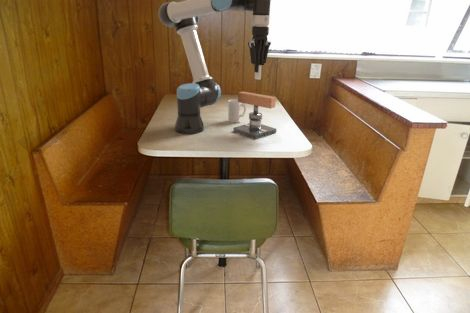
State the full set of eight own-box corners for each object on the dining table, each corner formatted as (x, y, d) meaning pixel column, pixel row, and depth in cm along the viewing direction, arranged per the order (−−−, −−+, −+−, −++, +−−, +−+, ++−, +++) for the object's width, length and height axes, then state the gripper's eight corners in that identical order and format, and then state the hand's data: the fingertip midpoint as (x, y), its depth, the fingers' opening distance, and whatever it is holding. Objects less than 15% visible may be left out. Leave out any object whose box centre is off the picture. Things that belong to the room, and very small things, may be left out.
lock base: (233, 131, 179) (233, 118, 176) (254, 125, 189) (254, 113, 187) (255, 139, 168) (256, 125, 166) (276, 132, 179) (277, 119, 176)
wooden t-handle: (268, 123, 168) (270, 99, 163) (236, 116, 179) (236, 92, 174) (275, 120, 173) (277, 96, 168) (243, 113, 184) (244, 90, 179)
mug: (227, 122, 193) (227, 101, 188) (228, 119, 199) (228, 99, 195) (245, 123, 193) (245, 102, 188) (245, 119, 199) (246, 99, 194)
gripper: (256, 26, 145) (253, 81, 154) (276, 26, 153) (272, 79, 162) (244, 25, 150) (242, 79, 159) (264, 25, 158) (261, 76, 167)
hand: (257, 79), depth 161 cm, fingers closed
